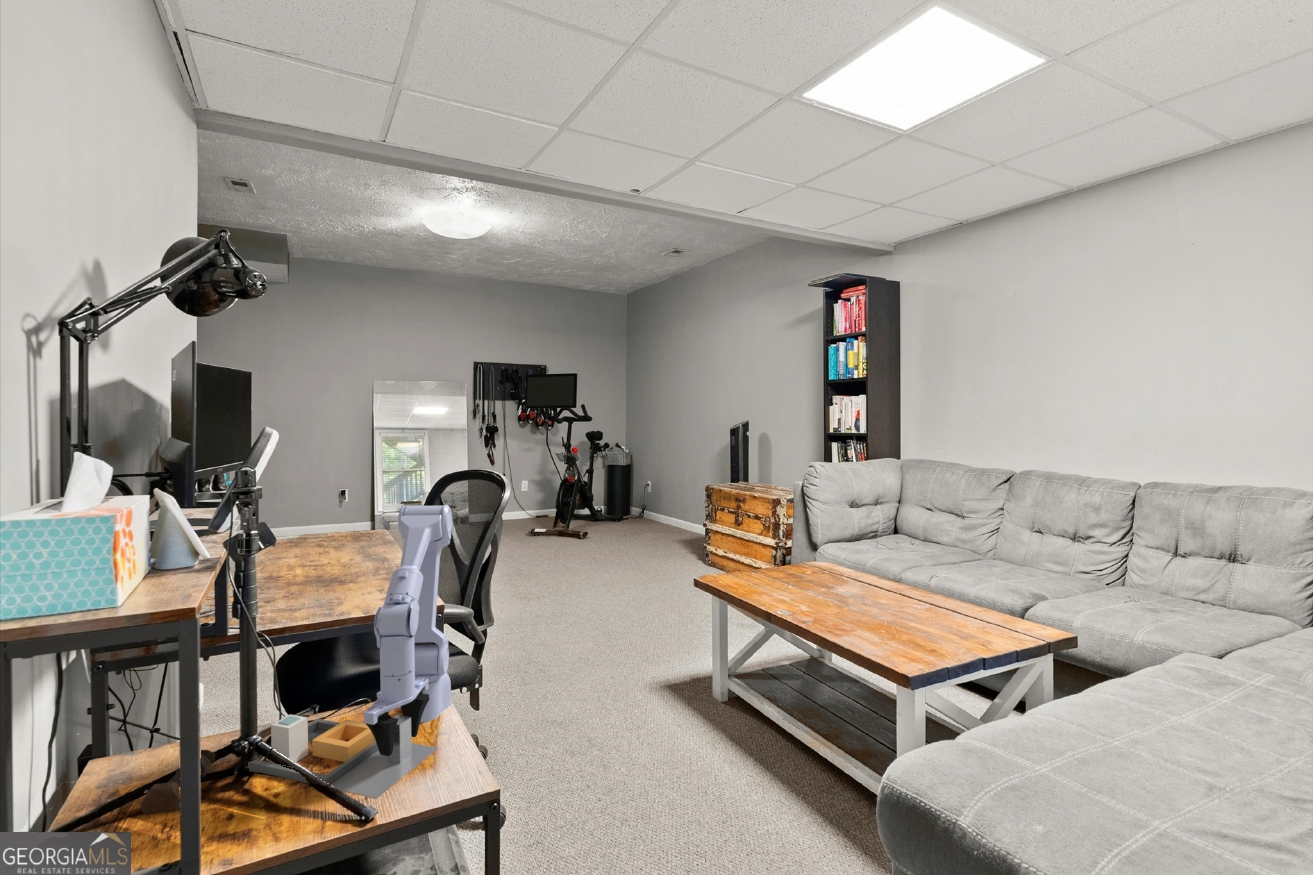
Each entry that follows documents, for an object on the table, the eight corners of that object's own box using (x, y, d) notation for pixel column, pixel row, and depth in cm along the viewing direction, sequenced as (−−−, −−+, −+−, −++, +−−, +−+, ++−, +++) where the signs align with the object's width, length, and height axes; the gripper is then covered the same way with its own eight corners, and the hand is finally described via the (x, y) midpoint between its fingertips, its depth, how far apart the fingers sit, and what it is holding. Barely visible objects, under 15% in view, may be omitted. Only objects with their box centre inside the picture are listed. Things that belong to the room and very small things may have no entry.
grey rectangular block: (397, 752, 116) (397, 714, 116) (411, 754, 115) (411, 717, 115) (386, 760, 113) (385, 722, 113) (400, 763, 112) (399, 724, 112)
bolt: (211, 776, 114) (165, 827, 99) (183, 765, 113) (133, 815, 98) (229, 746, 114) (186, 793, 100) (201, 735, 113) (154, 780, 99)
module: (291, 751, 116) (290, 713, 116) (308, 755, 115) (307, 716, 115) (271, 763, 113) (270, 723, 112) (289, 767, 111) (288, 726, 111)
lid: (391, 745, 121) (391, 738, 121) (438, 754, 118) (438, 747, 118) (324, 793, 105) (324, 786, 105) (376, 805, 102) (376, 798, 102)
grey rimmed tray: (317, 730, 126) (317, 711, 126) (393, 745, 121) (392, 724, 120) (243, 775, 111) (243, 752, 111) (326, 793, 105) (325, 770, 105)
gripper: (406, 652, 122) (407, 722, 122) (348, 684, 108) (350, 762, 108) (437, 657, 119) (438, 727, 120) (383, 689, 106) (384, 769, 106)
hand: (398, 744), depth 114 cm, fingers open, 6 cm apart
